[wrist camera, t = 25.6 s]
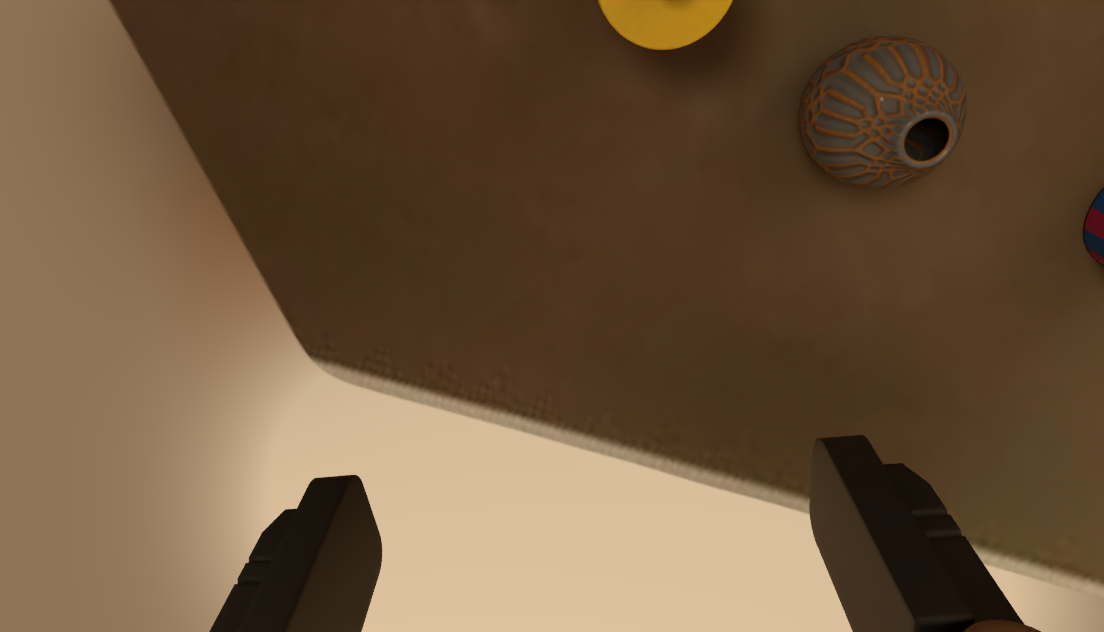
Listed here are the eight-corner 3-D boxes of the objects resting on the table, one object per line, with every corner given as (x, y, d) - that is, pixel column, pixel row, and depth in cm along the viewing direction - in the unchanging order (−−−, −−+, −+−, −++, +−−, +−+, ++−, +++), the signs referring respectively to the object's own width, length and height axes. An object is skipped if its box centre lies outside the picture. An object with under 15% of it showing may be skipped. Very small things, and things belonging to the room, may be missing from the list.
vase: (771, 160, 37) (823, 214, 30) (800, 24, 34) (868, 46, 26) (896, 168, 37) (980, 224, 30) (937, 33, 34) (1044, 57, 26)
